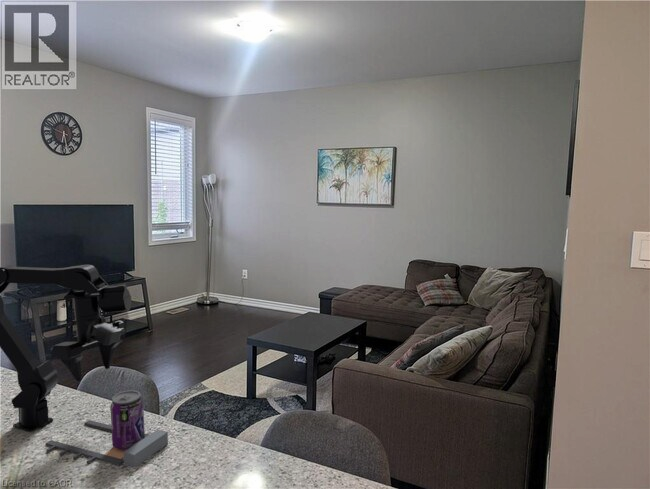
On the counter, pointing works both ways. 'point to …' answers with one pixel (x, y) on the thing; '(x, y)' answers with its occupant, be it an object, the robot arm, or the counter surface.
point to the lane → (115, 456)
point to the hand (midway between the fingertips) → (93, 374)
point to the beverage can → (127, 419)
